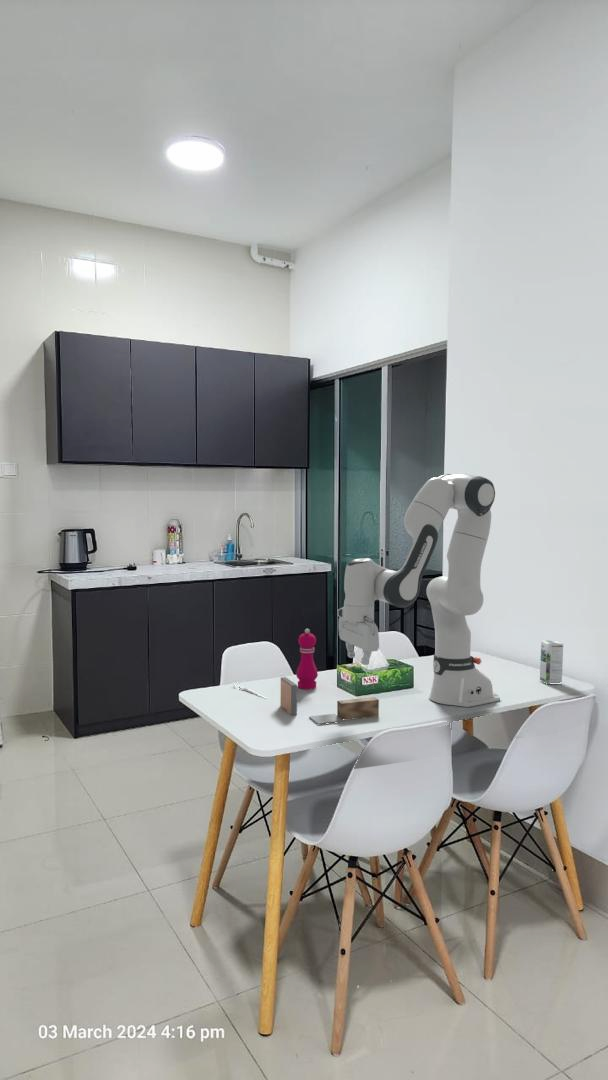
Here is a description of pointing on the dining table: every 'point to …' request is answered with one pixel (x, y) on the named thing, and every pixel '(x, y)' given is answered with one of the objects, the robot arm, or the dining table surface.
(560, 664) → the syrup box
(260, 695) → the fork
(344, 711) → the wood block on plate
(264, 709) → the dining table surface
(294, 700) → the tile
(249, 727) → the dining table surface
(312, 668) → the pepper mill
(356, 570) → the robot arm
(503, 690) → the dining table surface
